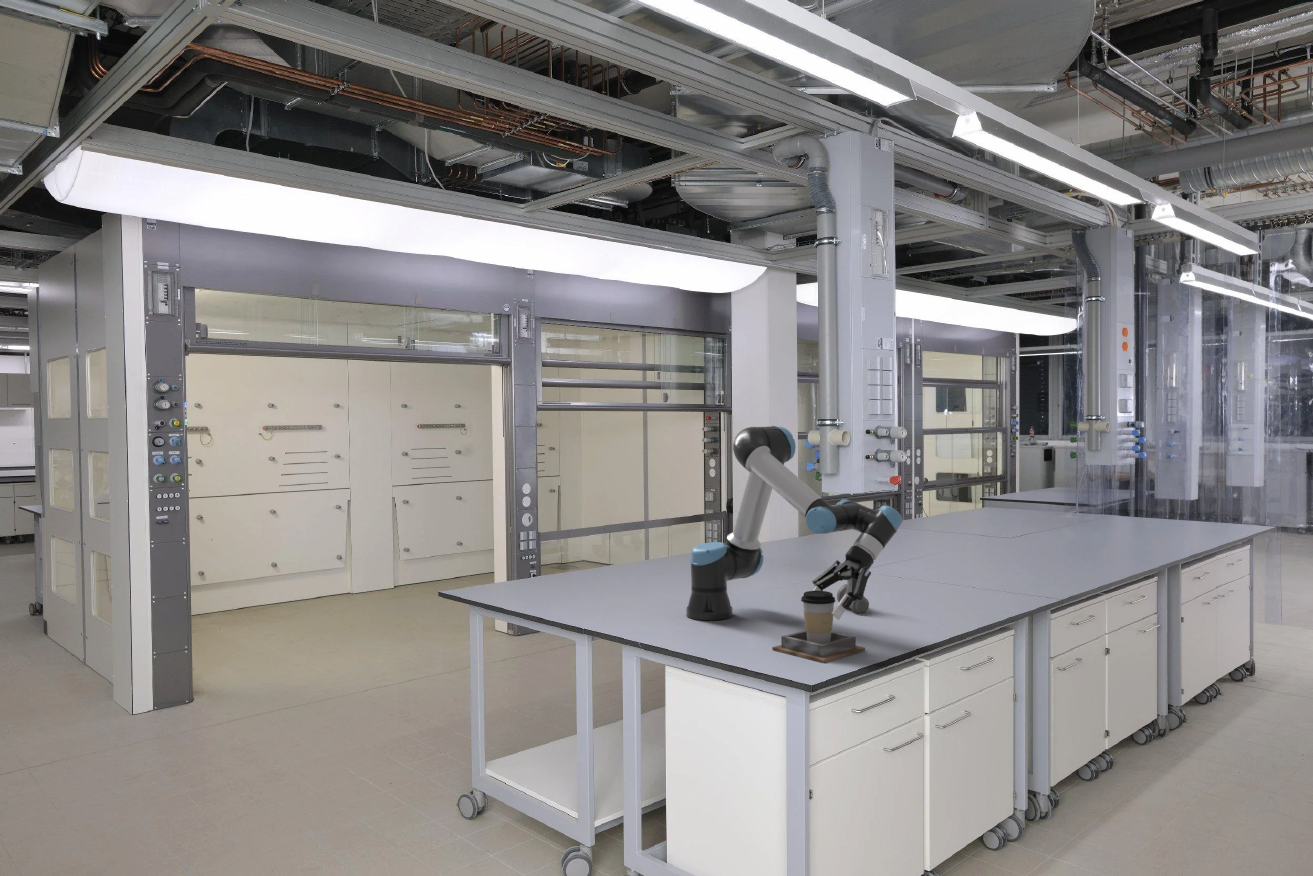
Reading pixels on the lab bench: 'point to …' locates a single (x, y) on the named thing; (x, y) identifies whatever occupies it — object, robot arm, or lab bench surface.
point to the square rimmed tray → (818, 647)
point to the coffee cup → (818, 615)
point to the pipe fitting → (856, 605)
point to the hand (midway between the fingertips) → (820, 611)
